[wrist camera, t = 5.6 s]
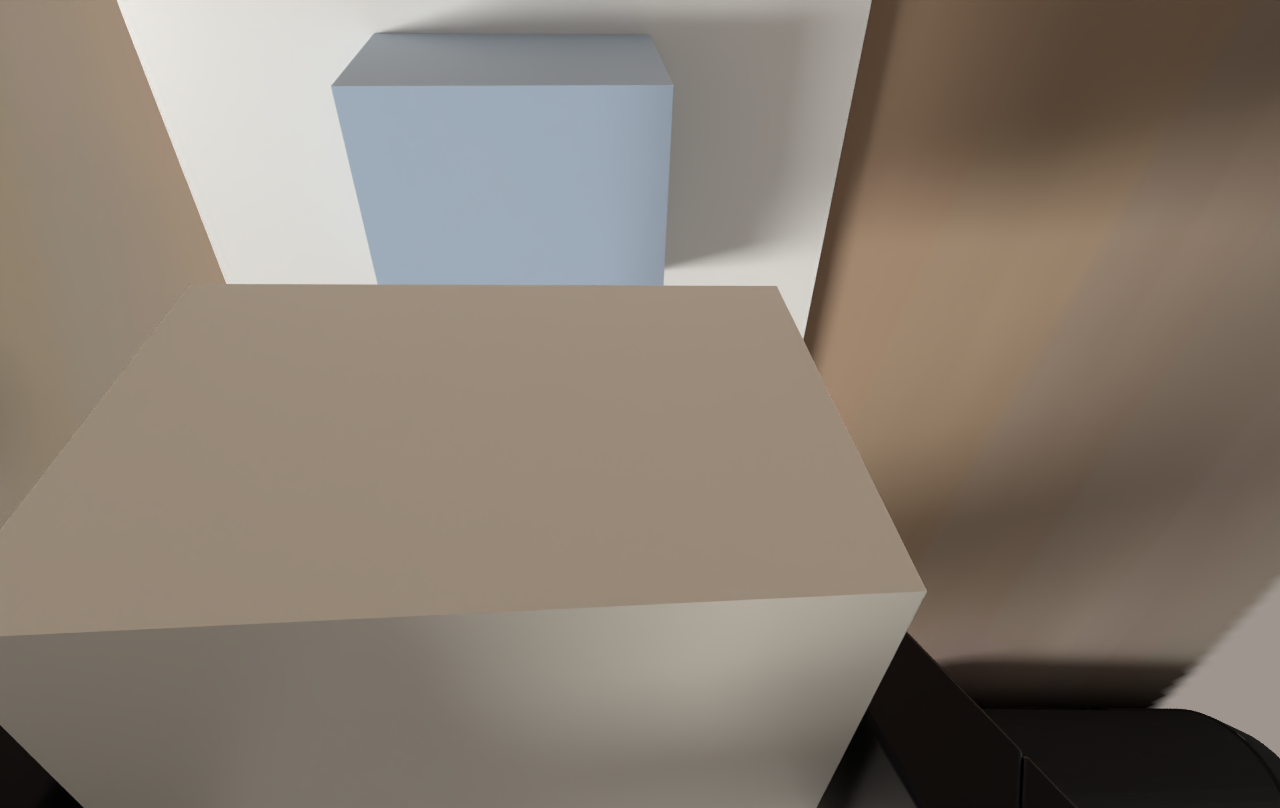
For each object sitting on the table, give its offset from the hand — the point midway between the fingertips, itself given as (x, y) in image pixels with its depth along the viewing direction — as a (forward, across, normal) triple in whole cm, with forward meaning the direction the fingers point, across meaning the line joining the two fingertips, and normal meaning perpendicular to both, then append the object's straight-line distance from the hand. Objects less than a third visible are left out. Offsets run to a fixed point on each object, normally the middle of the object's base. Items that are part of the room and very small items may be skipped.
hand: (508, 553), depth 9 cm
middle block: (+1, 0, 0) cm, 1 cm away
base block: (+12, 0, 0) cm, 12 cm away
